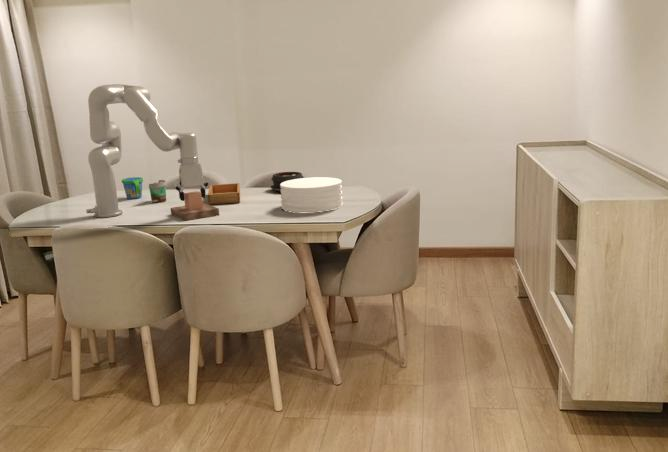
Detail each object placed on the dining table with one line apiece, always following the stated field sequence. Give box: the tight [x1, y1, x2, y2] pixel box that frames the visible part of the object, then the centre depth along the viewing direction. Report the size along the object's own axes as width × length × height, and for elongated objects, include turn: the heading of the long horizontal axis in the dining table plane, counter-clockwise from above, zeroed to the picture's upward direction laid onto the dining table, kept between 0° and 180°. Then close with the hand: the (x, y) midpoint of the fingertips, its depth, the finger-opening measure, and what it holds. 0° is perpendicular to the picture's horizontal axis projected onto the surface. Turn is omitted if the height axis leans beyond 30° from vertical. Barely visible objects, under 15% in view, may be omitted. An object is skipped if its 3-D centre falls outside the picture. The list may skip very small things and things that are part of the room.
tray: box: [207, 182, 241, 206], centre depth 348 cm, size 31×15×6 cm, turn 7°
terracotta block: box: [184, 190, 203, 210], centre depth 312 cm, size 6×6×7 cm
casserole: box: [270, 171, 305, 192], centre depth 364 cm, size 25×19×8 cm
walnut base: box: [170, 202, 220, 221], centre depth 313 cm, size 16×18×3 cm
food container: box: [148, 179, 168, 204], centre depth 348 cm, size 12×6×10 cm, turn 168°
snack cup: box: [121, 176, 144, 200], centre depth 361 cm, size 16×10×10 cm
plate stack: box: [280, 176, 344, 213], centre depth 316 cm, size 28×28×12 cm
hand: (192, 199), depth 311 cm, fingers open, 9 cm apart
